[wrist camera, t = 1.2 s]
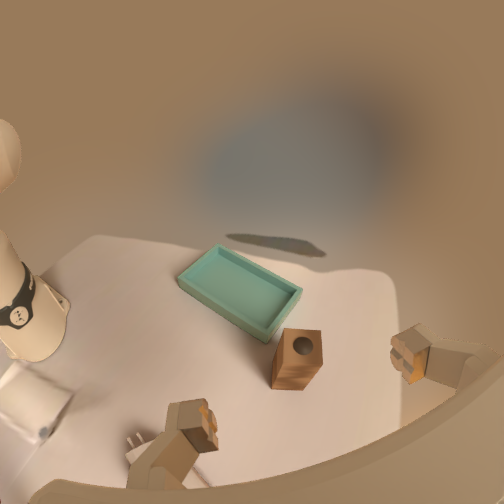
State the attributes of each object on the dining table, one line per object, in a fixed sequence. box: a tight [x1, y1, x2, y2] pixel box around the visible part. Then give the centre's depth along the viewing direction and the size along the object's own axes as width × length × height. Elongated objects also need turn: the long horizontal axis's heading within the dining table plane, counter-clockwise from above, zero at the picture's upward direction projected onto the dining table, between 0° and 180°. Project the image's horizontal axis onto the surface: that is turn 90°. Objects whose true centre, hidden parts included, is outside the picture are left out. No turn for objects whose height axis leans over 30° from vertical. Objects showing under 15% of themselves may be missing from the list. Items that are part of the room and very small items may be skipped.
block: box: [271, 328, 323, 391], centre depth 37 cm, size 5×5×11 cm
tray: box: [177, 243, 303, 344], centre depth 51 cm, size 20×12×3 cm, turn 55°
